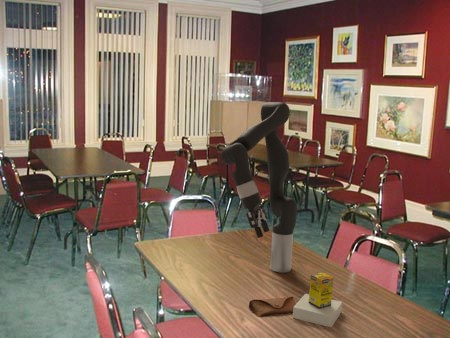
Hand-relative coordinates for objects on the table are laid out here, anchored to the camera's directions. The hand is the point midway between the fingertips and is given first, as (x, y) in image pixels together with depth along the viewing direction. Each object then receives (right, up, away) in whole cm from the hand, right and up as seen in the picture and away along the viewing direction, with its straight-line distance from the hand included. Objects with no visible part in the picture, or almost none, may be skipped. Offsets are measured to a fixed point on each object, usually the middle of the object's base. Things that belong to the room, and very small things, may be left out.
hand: (264, 234), depth 193 cm
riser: (+19, -28, -9) cm, 35 cm away
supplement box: (+19, -24, -10) cm, 33 cm away
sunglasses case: (+4, -28, -7) cm, 29 cm away
